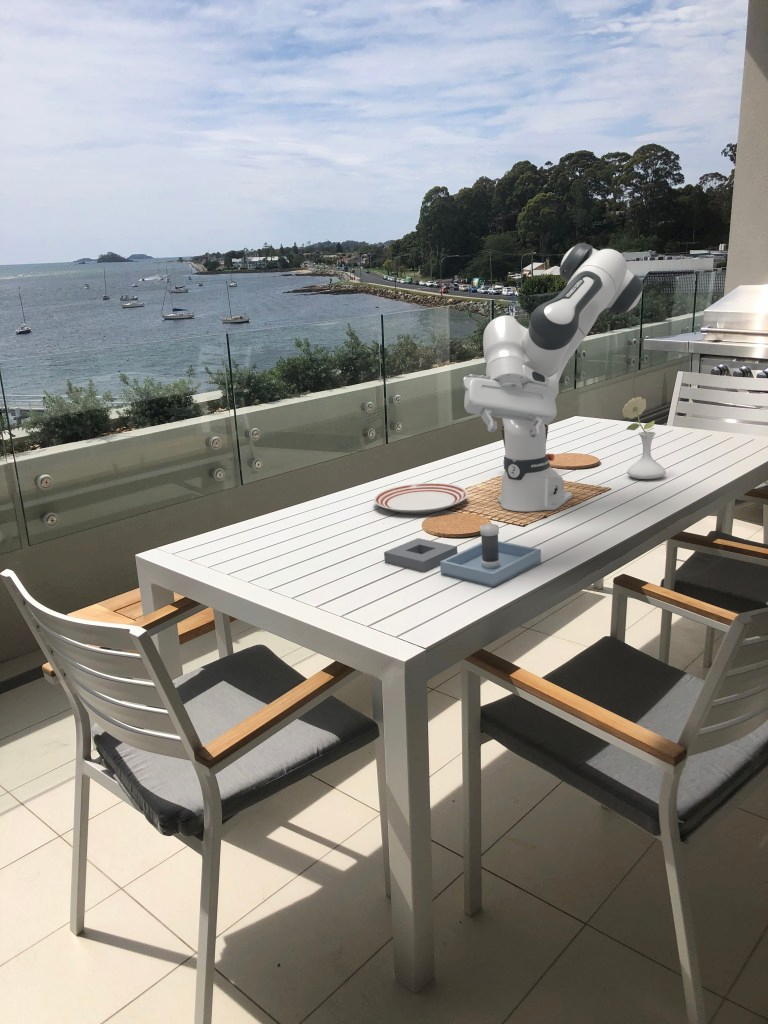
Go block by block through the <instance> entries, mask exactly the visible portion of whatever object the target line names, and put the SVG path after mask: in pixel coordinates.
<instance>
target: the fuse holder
mask: <svg viewBox="0 0 768 1024" xmlns="http://www.w3.org/2000/svg"><path fill="white" fill-rule="evenodd" d="M383 554H384V563H387V564H390V565H394V566H397V567H402V568H406V569H408V570H409V569H410V570H414V571H418V572H421V573H426V572H429V571H430V570H433V569H434V568H436V567H440V561H442V560H445V559H447V558H449V557H451V556H453V555H455V554H458V546H456V545H452V544H447V543H443V542H437V541H433V540H429V539H424V538H419V537H418V538H414V539H411V540H410V541H408V542H405V543H402V544H401V545H398V546H396V547H393V548H391V549H389V550H386V551H383Z"/></svg>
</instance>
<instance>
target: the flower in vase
mask: <svg viewBox="0 0 768 1024" xmlns="http://www.w3.org/2000/svg"><path fill="white" fill-rule="evenodd" d="M646 409H647V400H646V398H642V396H636V398H635V397H632V398H631V399H629V400H628V402H627V403H626V404H624V407H623V408H622V410H621V413H622V417H623V418H624V419H625V418H628V419H635V418H638V423H636V422H634V423H631V424H630V425H628V426H627V428H626V431H627V430H628V431H636V430H637V429H638V428H639V427H641V429H642V431H641V432H638V434H637V435H638V436H639V437H640V438H641V442H642V455H641V458H640V459H638V460H637V461H636V462H634V463H633V464H632V465H631V466H630V467H628V469H627V470H626V474H627V475H628V476H629V477H631V478H634V479H637V480H638V479H640V480H654V479H658V478H659V479H660V478H662V477H664V476H665V475H666V473H667V471H666V469H665V468H664V467H663V466H662V465H661V463H659V462H657V461H656V459H654V458H653V457H652V453H651V452H652V451H651V450H652V449H651V447H652V441H653V439H654V437H655V436H656V434H657V433H656V432H655V431H646V430H648V429H649V430H650V429H652V428H653V427H654V426H655V423H656V422H655V420H652V421H650V422H647V423H645V424H644V426H642V424H641V421H640V420H641V419H640V415H642V414H643V412H644V411H645V410H646Z"/></svg>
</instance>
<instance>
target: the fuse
mask: <svg viewBox="0 0 768 1024" xmlns="http://www.w3.org/2000/svg"><path fill="white" fill-rule="evenodd" d="M499 526H500V525H498V524H494V523H486V524H481V525H480V526H479V532H480V533H479V534H480V536H481V537H480V538H481V543H482V559H481V563H482V567H483V568H486V569H494V568H498V567H499V566H500V558H499V551H498V541H499V534H500V528H499Z"/></svg>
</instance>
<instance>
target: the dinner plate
mask: <svg viewBox="0 0 768 1024" xmlns="http://www.w3.org/2000/svg"><path fill="white" fill-rule="evenodd" d="M468 496H469V492H468V490H467V489H465V488H464V487H461V486H459V485H456V484H451V483H443V482H441V483H439V482H421V483H411V484H405V485H399V486H394V487H391V488H387V489H385V490H383V491H381V492H379V493H378V494H376V495H375V496H374V498H373V501H374V504H376V506H378V507H381V508H383V509H386V510H390V511H394V512H398V513H400V514H401V513H402V514H412V515H413V514H415V515H416V514H429V513H435V512H436V513H437V512H439V511H444V510H446V509H448V508H451V507H454V506H456V505H458V504H460V503H461V502H463V501H464V500H466V498H468Z"/></svg>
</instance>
